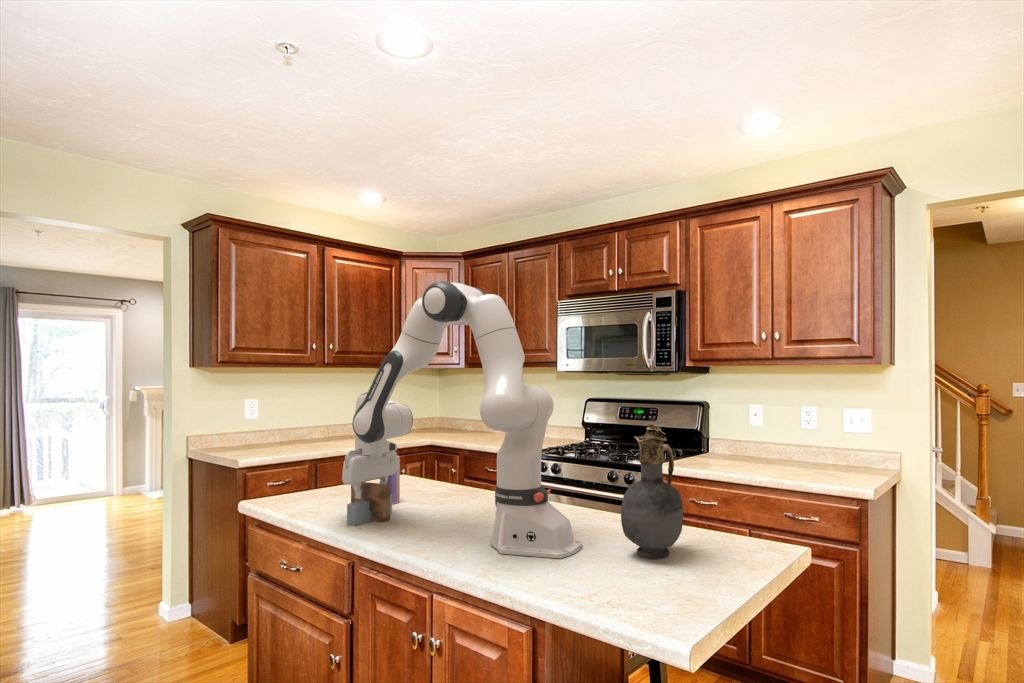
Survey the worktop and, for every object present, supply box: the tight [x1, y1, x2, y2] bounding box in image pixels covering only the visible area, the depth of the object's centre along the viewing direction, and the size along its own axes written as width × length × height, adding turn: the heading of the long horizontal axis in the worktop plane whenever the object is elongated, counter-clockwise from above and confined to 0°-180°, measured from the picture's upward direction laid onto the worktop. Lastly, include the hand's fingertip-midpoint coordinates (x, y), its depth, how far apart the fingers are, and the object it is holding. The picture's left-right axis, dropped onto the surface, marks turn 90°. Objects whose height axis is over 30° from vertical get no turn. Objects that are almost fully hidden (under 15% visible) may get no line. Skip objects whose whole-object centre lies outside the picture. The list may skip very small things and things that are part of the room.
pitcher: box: [620, 423, 684, 560], centre depth 141 cm, size 11×19×30 cm, turn 141°
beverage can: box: [386, 455, 401, 505], centre depth 194 cm, size 6×6×15 cm
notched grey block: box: [346, 494, 393, 526], centre depth 174 cm, size 3×16×6 cm, turn 153°
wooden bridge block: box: [350, 481, 391, 523], centre depth 174 cm, size 12×3×10 cm, turn 63°
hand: (370, 495), depth 174 cm, fingers open, 8 cm apart
